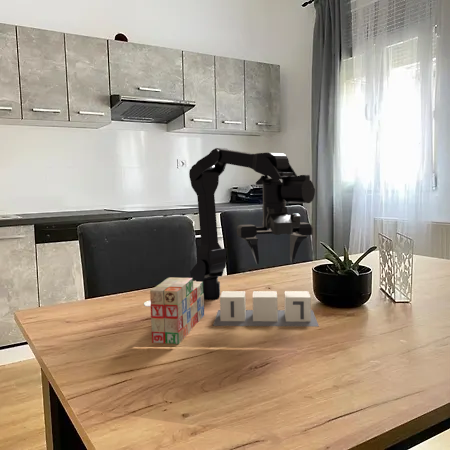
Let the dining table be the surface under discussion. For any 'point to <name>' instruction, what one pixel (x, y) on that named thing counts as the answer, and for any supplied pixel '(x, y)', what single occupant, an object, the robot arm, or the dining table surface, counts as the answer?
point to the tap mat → (250, 321)
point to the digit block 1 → (232, 306)
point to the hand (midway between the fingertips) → (274, 263)
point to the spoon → (147, 303)
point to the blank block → (265, 306)
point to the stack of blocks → (175, 309)
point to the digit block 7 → (297, 306)
